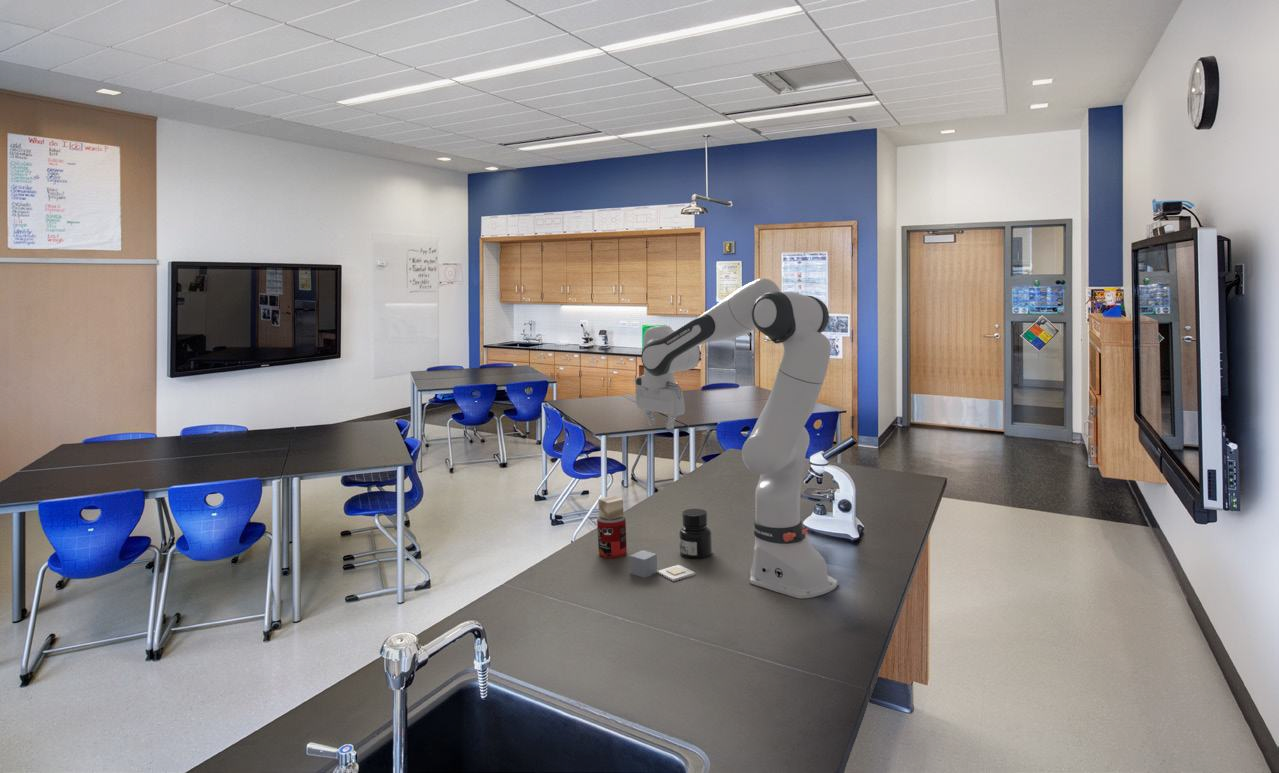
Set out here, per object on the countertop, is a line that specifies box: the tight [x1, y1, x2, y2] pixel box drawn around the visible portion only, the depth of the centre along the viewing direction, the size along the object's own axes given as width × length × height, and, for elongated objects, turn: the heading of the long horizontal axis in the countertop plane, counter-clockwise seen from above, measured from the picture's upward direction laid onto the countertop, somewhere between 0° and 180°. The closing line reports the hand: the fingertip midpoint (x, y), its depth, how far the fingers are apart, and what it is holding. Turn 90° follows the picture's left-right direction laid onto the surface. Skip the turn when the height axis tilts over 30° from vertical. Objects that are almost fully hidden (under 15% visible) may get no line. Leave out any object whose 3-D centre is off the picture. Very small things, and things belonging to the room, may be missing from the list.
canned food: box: [596, 514, 628, 559], centre depth 201 cm, size 8×8×11 cm
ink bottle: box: [678, 508, 713, 560], centre depth 199 cm, size 10×9×12 cm
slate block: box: [629, 549, 658, 579], centre depth 187 cm, size 5×5×5 cm
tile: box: [656, 564, 696, 582], centre depth 186 cm, size 7×7×1 cm
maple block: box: [597, 495, 625, 520], centre depth 200 cm, size 5×5×5 cm
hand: (660, 426), depth 212 cm, fingers open, 8 cm apart
